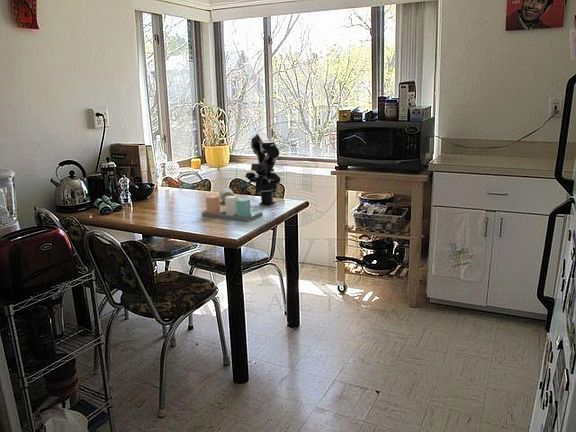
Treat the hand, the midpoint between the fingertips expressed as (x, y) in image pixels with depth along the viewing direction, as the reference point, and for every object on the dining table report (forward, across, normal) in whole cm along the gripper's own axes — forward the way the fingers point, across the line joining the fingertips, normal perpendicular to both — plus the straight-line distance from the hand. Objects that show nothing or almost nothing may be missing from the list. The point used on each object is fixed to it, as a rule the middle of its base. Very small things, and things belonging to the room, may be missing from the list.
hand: (256, 192), depth 241 cm
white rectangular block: (+14, -7, -2) cm, 16 cm away
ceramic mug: (+1, -30, +13) cm, 33 cm away
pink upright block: (+16, -15, -6) cm, 23 cm away
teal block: (+16, +2, -3) cm, 16 cm away
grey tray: (+15, -7, -2) cm, 16 cm away
